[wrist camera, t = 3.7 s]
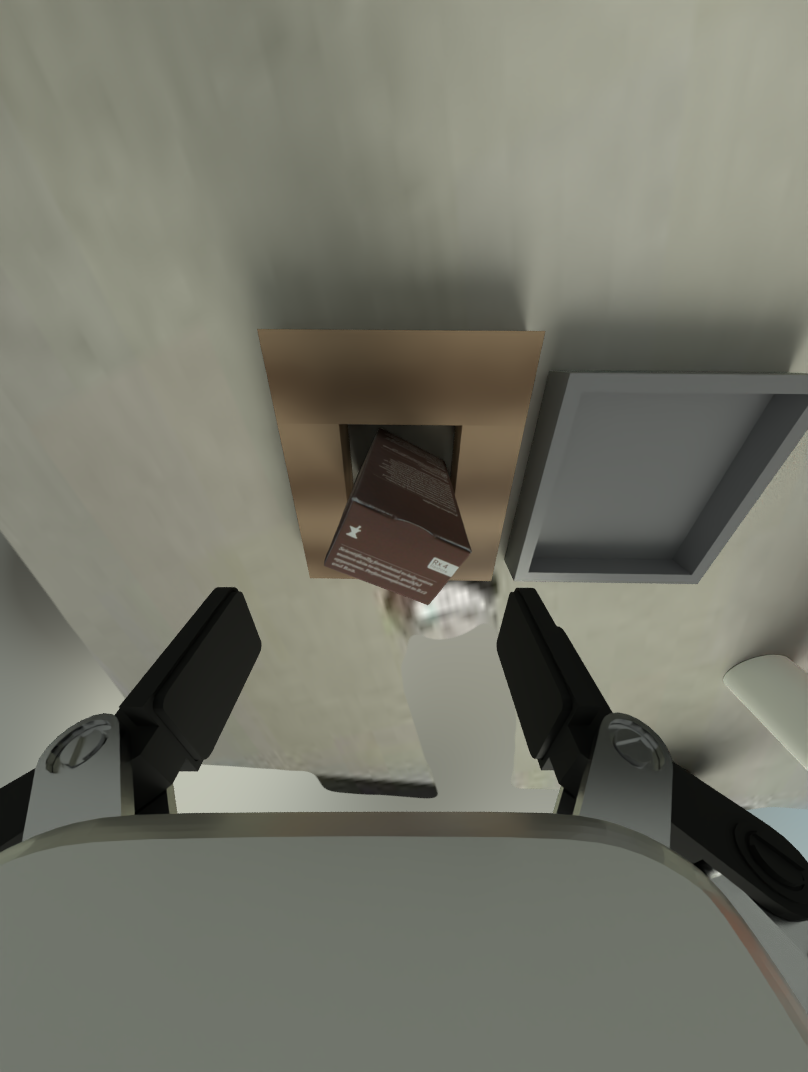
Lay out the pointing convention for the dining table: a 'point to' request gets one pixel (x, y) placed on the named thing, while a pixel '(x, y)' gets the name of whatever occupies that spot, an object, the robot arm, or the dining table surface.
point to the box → (400, 522)
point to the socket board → (401, 418)
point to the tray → (648, 471)
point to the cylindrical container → (775, 699)
